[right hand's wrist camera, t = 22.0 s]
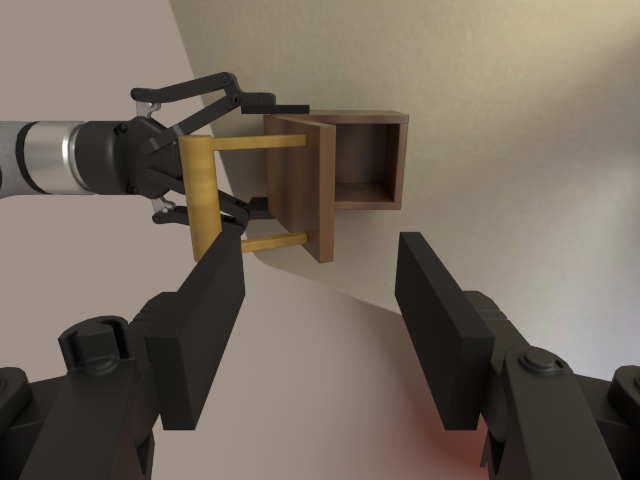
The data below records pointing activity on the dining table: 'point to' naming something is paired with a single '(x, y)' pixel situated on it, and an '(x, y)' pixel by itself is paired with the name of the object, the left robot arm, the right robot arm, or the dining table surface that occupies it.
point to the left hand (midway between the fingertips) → (309, 158)
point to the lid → (269, 184)
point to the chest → (366, 156)
